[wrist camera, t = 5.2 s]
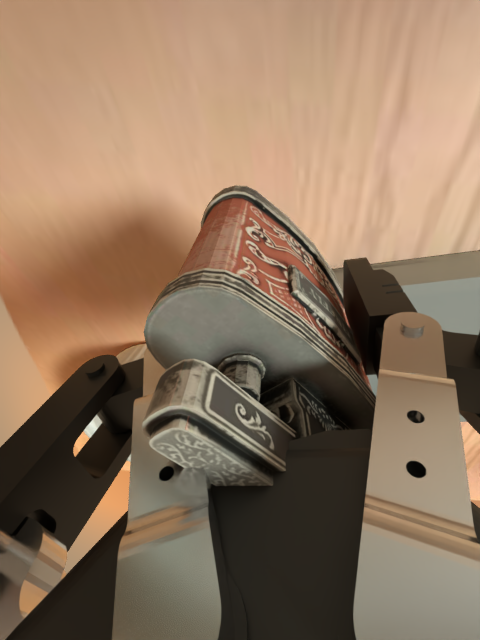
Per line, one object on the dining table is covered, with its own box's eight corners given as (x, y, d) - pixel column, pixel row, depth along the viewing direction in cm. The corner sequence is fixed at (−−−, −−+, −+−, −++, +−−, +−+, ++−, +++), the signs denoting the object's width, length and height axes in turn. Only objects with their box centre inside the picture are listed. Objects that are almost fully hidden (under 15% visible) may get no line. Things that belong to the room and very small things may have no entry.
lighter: (365, 306, 14) (482, 579, 6) (304, 341, 16) (337, 597, 8) (247, 162, 11) (187, 348, 3) (186, 224, 13) (42, 453, 5)
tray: (562, 239, 19) (607, 262, 16) (498, 388, 26) (522, 418, 24) (321, 270, 21) (329, 294, 18) (325, 399, 28) (331, 428, 26)
